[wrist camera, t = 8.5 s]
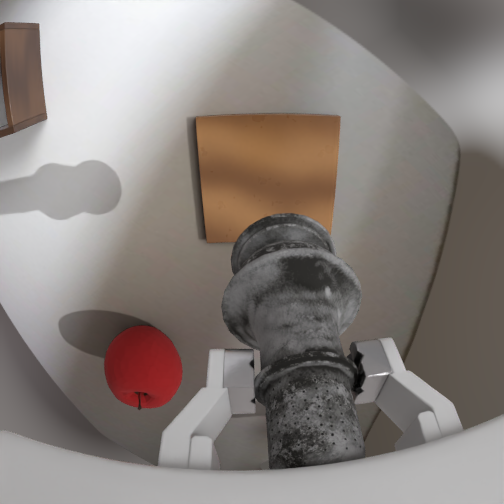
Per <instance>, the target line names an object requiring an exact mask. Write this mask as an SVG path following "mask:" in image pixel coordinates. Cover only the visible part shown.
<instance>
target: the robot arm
mask: <svg viewBox="0 0 504 504" xmlns="http://www.w3.org/2000/svg"><path fill="white" fill-rule="evenodd" d="M350 352H351V353H350V354H349V355H348V356H347V358H348V359H350V360H352V361H353V362H354V364H355V365H356V367H357V369H358V381H357V383H356V385H355V387H354V388H353V390H352V391H351V392H352V396H353V400H354V404H361V403H368V402H375V403H376V404H377V405H378V406H379V408H380V409H381V410H382V411H383V412H384V413H385V414H386V415H387V416H388V417H389V418H390V419H391V420H392V421H393V422H394V423H395V424H396V425H397V426H398V427H399V428H400V429H401V430H402V431H403V432H404V433H403V435H402V436H401V437H400V438H399V440H398V441H397V442H396V443H395V448H396V451H395V452H391V453H386V454H382V455H377V456H372V457H367V458H362V459H357V460H351V461H345V462H339V463H332V464H325V465H317V466H309V467H299V468H287V469H272V470H243V471H225V470H220V461H219V458H218V456H217V453H216V450H215V447H214V444H213V442H214V441H215V439H216V438H217V437H218V435H219V434H220V432H221V431H222V429H223V428H224V426H225V425H226V423H227V422H228V420H229V419H230V417H231V416H232V414H248V413H255V377H254V350H253V349H210V351H209V359H208V371H207V383H206V388H201V389H200V391H199V392H198V393H197V394H196V395H195V396H194V397H193V399H192V400H191V401H190V402H189V403H188V404H187V405H186V406H185V408H184V409H183V410H182V411H181V412H180V413H179V414H178V415H177V417H176V418H175V419H174V420H173V421H172V422H171V423H170V424H169V425H168V427H167V428H166V429H165V430H164V431H163V432H162V438H161V445H160V452H159V460H158V466H151V465H143V464H136V463H129V462H123V461H117V460H112V459H106V458H101V457H97V456H92V455H87V454H83V453H79V452H75V451H70V450H67V449H63V448H59V447H56V446H52V445H49V444H45V443H42V442H39V441H36V440H33V439H29V438H27V437H24V436H21V435H18V434H16V433H13V432H10V431H7V430H1V431H0V504H504V414H503V415H500V416H498V417H496V418H494V419H491V420H489V421H486V422H484V423H482V424H479V425H477V426H475V427H471V428H469V429H466V430H463V428H462V425H461V423H460V420H459V417H458V415H457V412H456V410H455V408H454V405H453V403H452V402H450V401H449V400H448V399H447V398H445V397H444V396H443V395H441V394H440V393H439V392H437V391H436V390H435V389H433V388H432V387H431V386H429V385H428V384H427V383H425V382H424V381H423V380H422V379H420V378H419V377H417V376H416V375H415V374H414V373H412V372H411V371H406V369H405V367H404V364H403V362H402V360H401V357H400V355H399V352H398V350H397V348H396V345H395V343H394V341H393V339H392V338H391V337H389V338H381V339H371V340H364V341H355V342H352V343H351V345H350Z"/></svg>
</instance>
